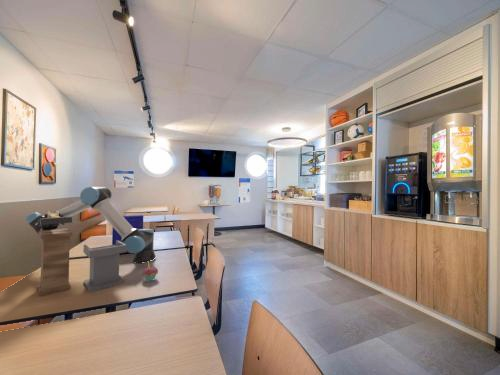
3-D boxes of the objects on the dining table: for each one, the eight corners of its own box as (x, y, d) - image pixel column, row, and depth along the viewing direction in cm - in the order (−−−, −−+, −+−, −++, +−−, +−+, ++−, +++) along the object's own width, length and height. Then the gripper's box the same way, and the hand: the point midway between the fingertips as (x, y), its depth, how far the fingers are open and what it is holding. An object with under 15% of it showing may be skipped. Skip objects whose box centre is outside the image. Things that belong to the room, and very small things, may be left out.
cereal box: (141, 249, 186) (142, 214, 186) (142, 250, 181) (143, 215, 181) (111, 252, 174) (112, 215, 174) (111, 254, 169) (112, 216, 169)
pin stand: (37, 286, 114) (38, 230, 114) (66, 280, 123) (68, 228, 123) (39, 296, 105) (40, 235, 105) (70, 288, 114) (72, 232, 114)
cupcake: (151, 283, 121) (152, 262, 121) (138, 282, 123) (139, 261, 123) (160, 277, 130) (161, 257, 130) (148, 276, 132) (148, 256, 132)
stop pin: (37, 219, 122) (37, 213, 122) (64, 217, 131) (65, 212, 131) (40, 225, 106) (40, 219, 106) (71, 222, 115) (72, 216, 115)
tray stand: (82, 283, 120) (83, 245, 120) (116, 274, 132) (117, 240, 132) (88, 292, 110) (89, 250, 110) (125, 282, 122) (126, 244, 122)
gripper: (66, 231, 139) (72, 217, 125) (31, 235, 127) (33, 220, 114) (65, 221, 142) (71, 205, 128) (30, 223, 130) (33, 207, 116)
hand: (53, 212), depth 121 cm, fingers closed on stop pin, 3 cm apart
